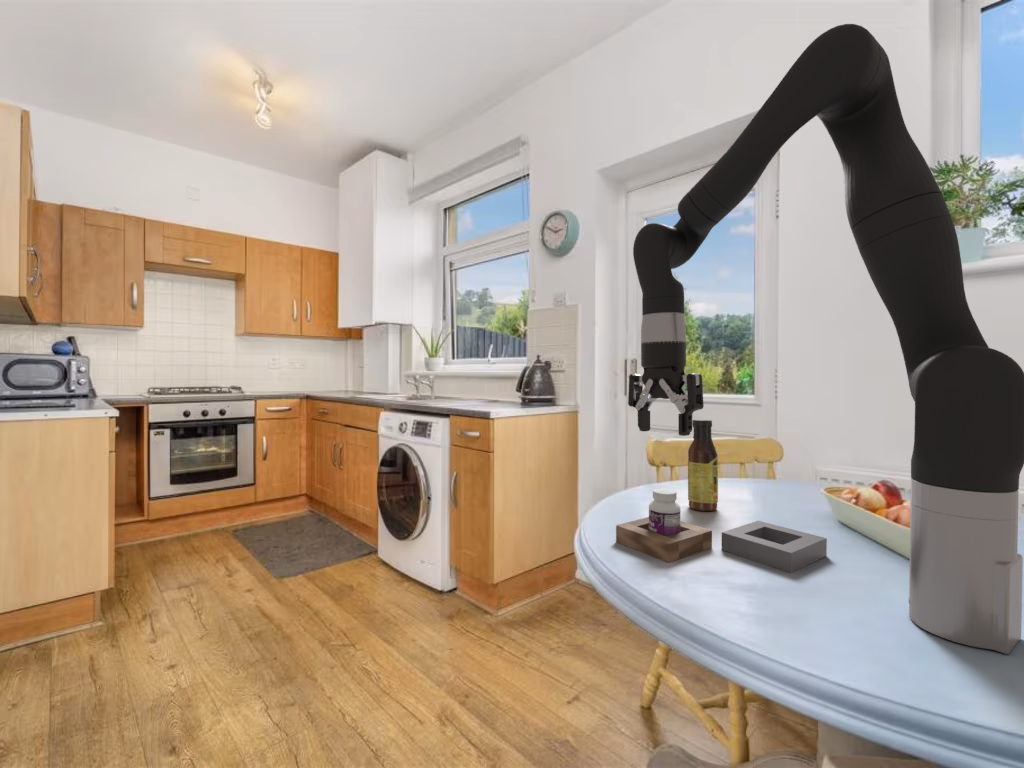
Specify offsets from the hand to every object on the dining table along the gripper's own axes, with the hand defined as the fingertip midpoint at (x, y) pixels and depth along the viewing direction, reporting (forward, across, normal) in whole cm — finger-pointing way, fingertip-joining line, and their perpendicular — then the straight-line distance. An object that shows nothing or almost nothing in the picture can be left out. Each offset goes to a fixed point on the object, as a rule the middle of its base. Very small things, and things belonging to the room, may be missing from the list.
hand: (663, 433), depth 85 cm
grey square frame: (+20, -13, -12) cm, 26 cm away
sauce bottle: (+20, +10, -26) cm, 34 cm away
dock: (+20, 0, 0) cm, 20 cm away
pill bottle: (+20, 0, 0) cm, 20 cm away
